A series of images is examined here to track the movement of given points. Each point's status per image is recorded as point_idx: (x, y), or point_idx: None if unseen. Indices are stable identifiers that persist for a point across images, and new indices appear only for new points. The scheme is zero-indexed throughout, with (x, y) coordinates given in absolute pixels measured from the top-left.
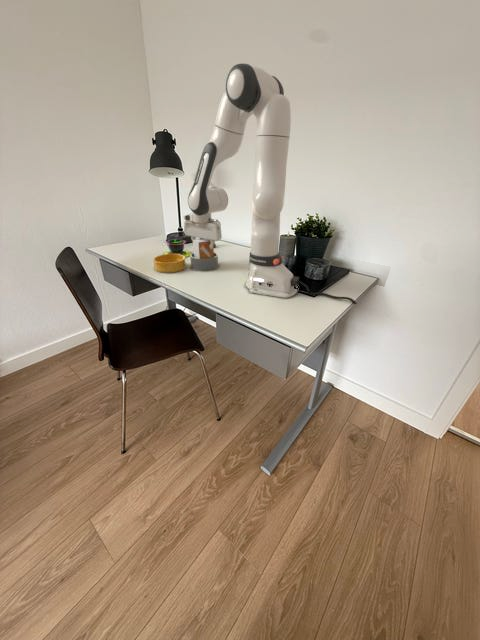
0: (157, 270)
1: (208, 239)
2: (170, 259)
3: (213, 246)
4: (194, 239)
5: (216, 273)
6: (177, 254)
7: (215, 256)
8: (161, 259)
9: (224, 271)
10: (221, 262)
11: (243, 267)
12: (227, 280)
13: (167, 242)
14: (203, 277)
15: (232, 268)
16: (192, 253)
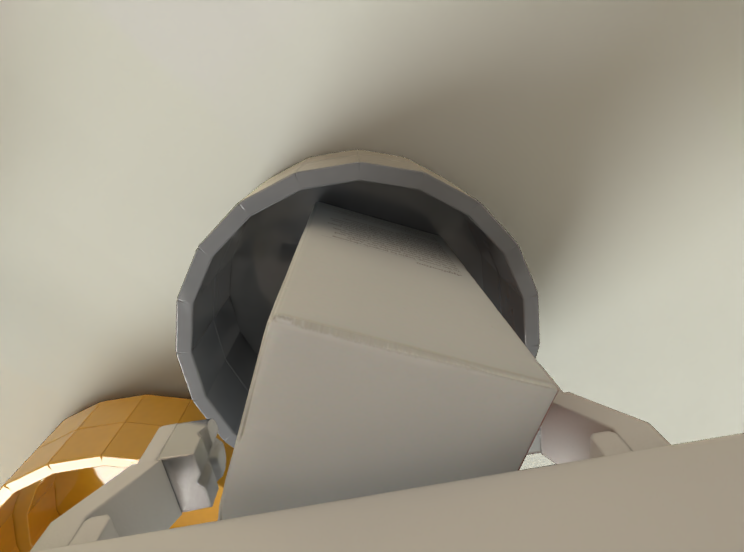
0: None
1: (422, 415)
2: (45, 478)
3: (512, 330)
4: (129, 521)
5: (569, 339)
6: (57, 472)
7: (525, 299)
8: (15, 545)
9: (602, 258)
10: (396, 60)
11: (719, 19)
12: (732, 384)
13: None
14: (537, 455)
15: (625, 137)
16: (203, 403)
